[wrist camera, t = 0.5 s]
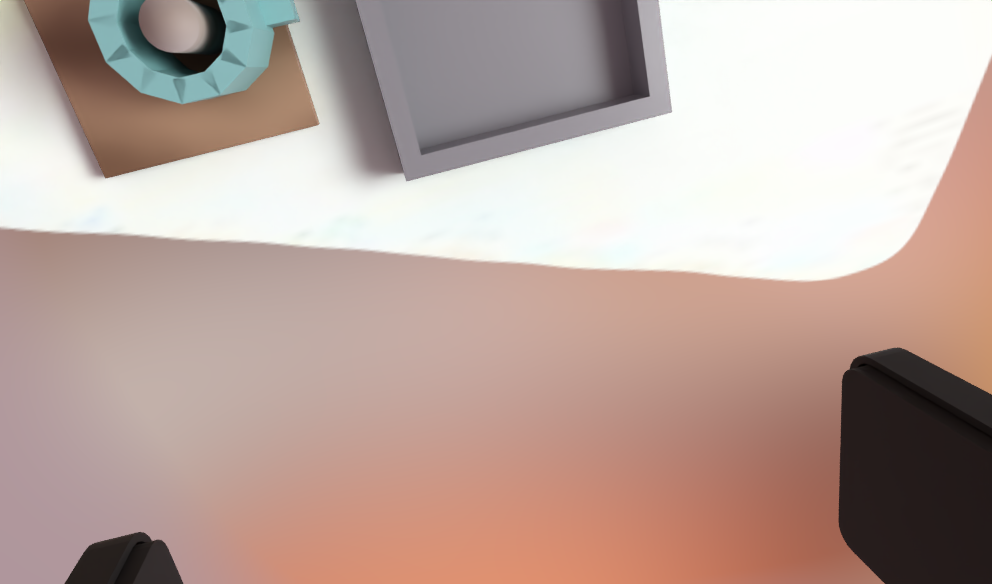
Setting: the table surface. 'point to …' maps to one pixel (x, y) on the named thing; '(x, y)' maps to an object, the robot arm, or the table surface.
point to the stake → (159, 122)
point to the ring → (246, 52)
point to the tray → (511, 73)
